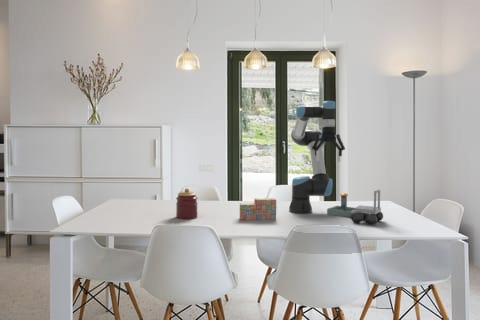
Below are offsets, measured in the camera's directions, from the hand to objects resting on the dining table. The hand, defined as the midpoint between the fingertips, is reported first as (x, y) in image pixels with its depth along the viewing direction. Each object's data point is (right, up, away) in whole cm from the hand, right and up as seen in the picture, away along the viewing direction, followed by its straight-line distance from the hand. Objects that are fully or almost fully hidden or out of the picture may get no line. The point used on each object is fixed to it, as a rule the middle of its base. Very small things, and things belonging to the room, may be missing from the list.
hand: (328, 161), depth 225 cm
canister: (-87, -34, 0) cm, 93 cm away
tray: (+14, -34, +14) cm, 39 cm away
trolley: (+20, -35, -11) cm, 42 cm away
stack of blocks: (-43, -35, -4) cm, 56 cm away
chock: (+16, -35, 0) cm, 39 cm away
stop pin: (+14, -33, +14) cm, 39 cm away
